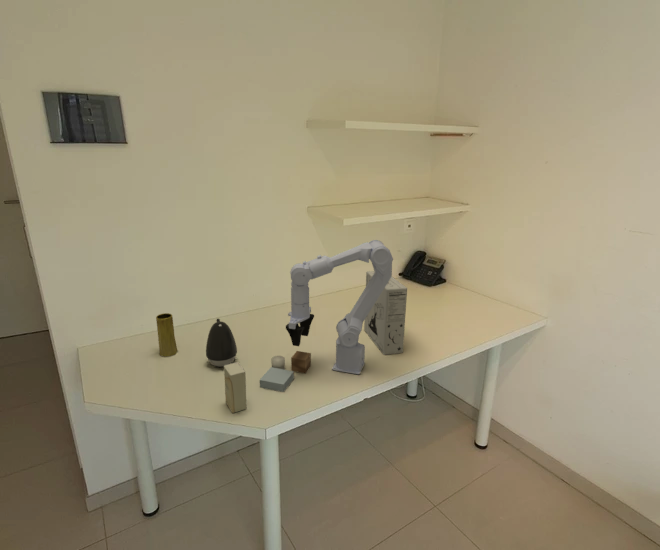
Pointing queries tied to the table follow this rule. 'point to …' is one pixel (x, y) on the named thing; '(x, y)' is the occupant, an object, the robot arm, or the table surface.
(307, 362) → the walnut cube
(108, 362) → the table surface
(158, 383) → the table surface
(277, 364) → the grey rounded lump
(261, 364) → the table surface
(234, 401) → the skincare box
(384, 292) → the product box
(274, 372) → the slate plinth
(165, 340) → the vase
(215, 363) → the black egg shape
